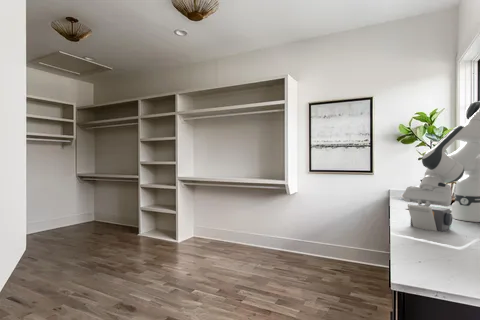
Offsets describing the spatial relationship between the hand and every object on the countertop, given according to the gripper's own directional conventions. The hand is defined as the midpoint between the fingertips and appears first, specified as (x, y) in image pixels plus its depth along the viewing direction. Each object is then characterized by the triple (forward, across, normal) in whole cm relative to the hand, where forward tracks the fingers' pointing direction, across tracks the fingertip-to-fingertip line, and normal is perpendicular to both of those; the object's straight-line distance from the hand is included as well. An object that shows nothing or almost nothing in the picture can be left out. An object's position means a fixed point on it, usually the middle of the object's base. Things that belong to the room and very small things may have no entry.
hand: (421, 209), depth 137 cm
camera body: (0, 0, +16) cm, 16 cm away
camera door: (+3, 0, +12) cm, 12 cm away
